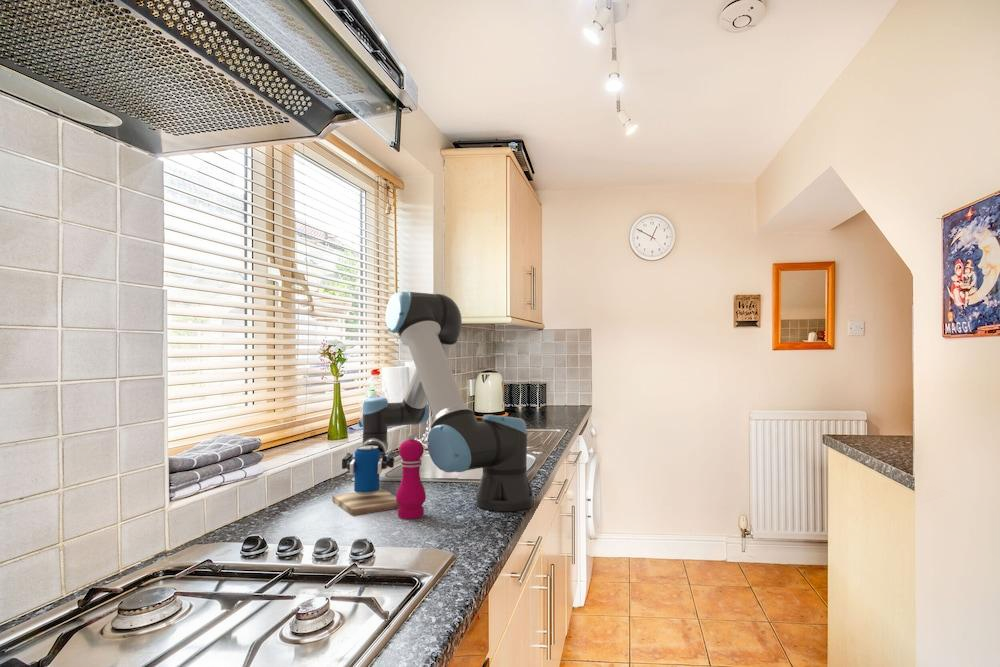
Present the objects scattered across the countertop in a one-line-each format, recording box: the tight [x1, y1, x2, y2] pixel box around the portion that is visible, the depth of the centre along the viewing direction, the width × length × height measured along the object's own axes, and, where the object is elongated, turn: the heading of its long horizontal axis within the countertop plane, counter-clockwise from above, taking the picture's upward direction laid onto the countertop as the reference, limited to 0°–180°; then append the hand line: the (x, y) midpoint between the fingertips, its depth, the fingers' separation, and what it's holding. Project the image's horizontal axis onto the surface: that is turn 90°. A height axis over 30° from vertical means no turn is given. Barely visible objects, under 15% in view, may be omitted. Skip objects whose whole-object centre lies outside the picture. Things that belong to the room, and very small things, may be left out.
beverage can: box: [353, 445, 380, 495], centre depth 148 cm, size 6×6×12 cm
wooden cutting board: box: [332, 488, 400, 516], centre depth 147 cm, size 16×14×2 cm
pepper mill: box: [395, 433, 427, 520], centre depth 137 cm, size 7×7×20 cm
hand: (365, 469), depth 143 cm, fingers closed on beverage can, 6 cm apart
